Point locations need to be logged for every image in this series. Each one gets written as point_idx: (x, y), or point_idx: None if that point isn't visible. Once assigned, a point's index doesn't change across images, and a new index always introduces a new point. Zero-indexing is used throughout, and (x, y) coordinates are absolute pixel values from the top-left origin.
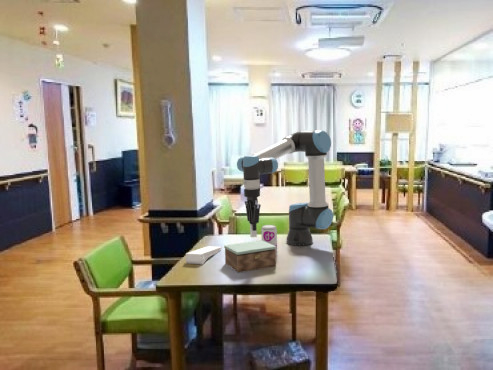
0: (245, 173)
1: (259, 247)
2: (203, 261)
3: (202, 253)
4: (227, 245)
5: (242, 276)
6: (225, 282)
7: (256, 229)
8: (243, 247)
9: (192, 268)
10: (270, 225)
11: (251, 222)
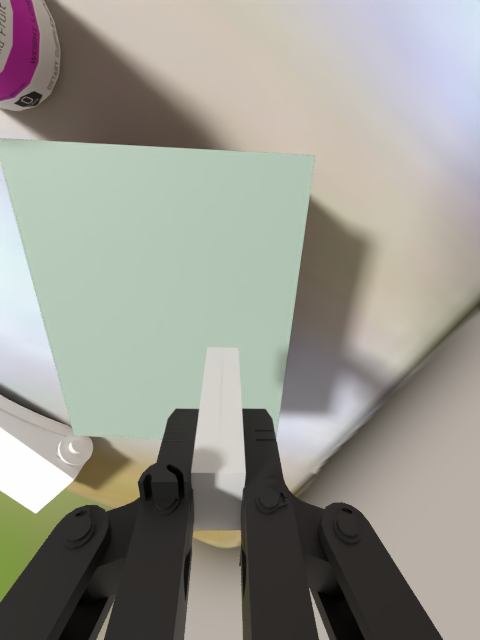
0: None
1: (255, 296)
2: (84, 441)
3: (49, 466)
4: (84, 424)
5: (309, 373)
6: (325, 436)
7: (241, 399)
8: (188, 377)
9: (128, 471)
10: None
11: (240, 557)
